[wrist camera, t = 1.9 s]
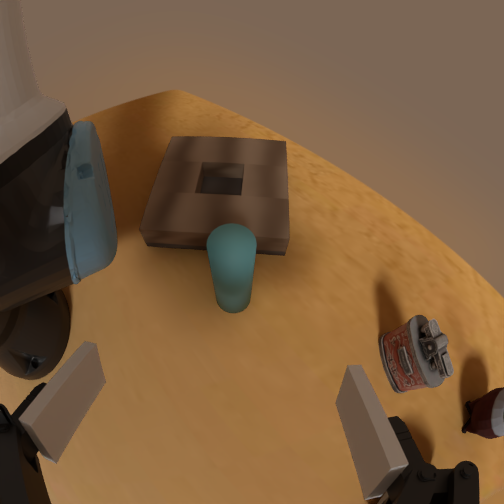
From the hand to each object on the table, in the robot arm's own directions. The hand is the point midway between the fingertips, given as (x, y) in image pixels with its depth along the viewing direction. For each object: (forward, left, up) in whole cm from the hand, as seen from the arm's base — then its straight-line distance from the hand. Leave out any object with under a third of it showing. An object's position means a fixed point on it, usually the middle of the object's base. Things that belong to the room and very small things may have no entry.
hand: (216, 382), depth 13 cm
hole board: (-3, +26, -17) cm, 31 cm away
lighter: (+20, +3, -17) cm, 26 cm away
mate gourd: (+34, -7, -17) cm, 39 cm away
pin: (0, +11, -17) cm, 20 cm away
